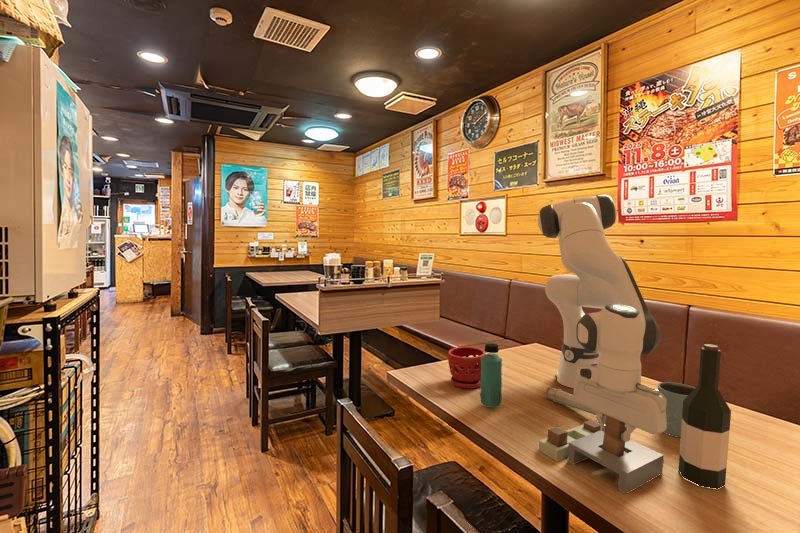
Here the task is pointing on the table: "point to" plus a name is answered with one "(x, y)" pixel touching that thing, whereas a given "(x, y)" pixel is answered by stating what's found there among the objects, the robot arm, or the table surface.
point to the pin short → (592, 426)
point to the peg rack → (563, 450)
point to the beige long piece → (567, 400)
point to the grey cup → (674, 404)
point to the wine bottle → (705, 426)
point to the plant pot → (465, 366)
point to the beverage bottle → (491, 377)
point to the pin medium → (557, 436)
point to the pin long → (613, 436)
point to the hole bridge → (619, 460)
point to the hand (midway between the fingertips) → (614, 435)
